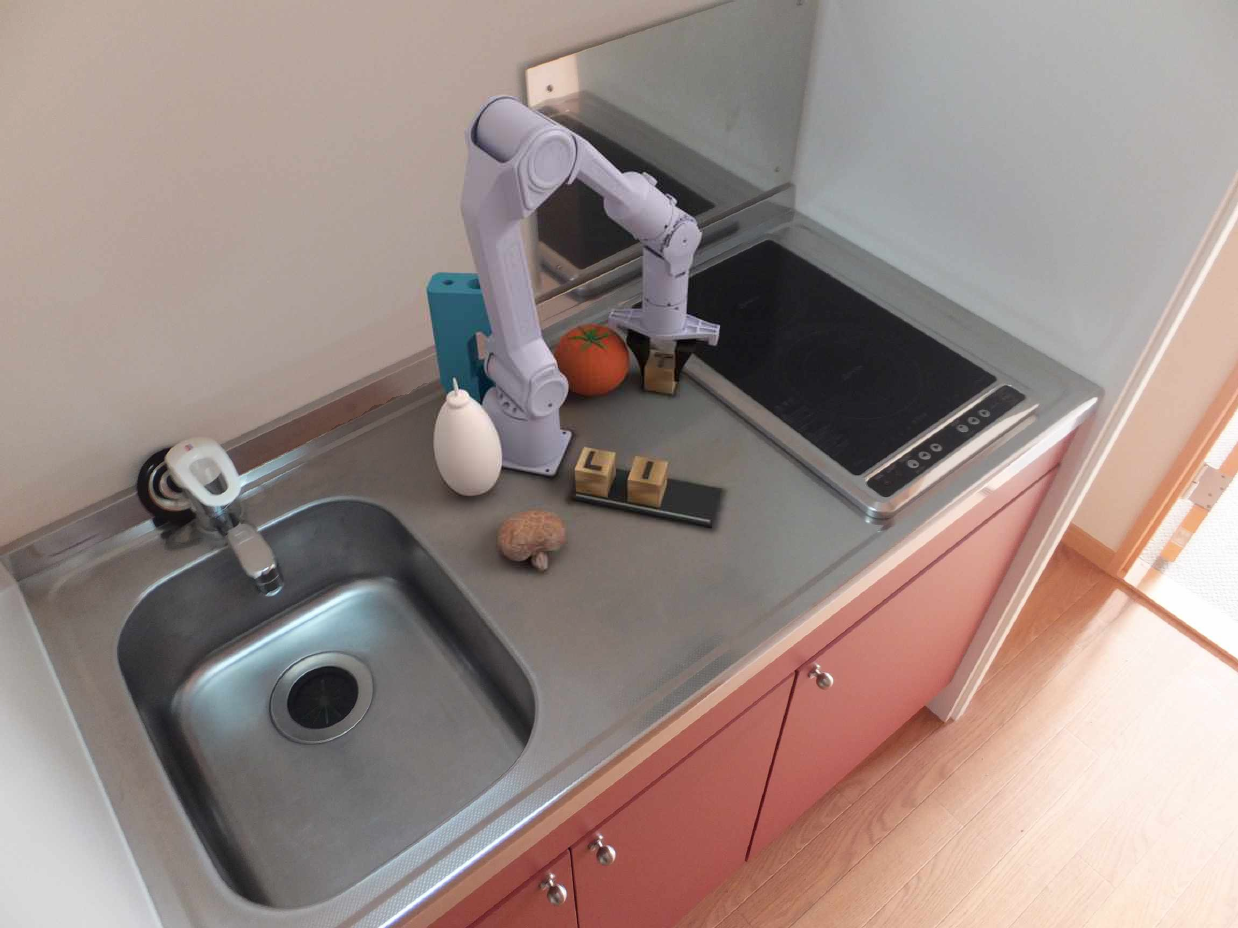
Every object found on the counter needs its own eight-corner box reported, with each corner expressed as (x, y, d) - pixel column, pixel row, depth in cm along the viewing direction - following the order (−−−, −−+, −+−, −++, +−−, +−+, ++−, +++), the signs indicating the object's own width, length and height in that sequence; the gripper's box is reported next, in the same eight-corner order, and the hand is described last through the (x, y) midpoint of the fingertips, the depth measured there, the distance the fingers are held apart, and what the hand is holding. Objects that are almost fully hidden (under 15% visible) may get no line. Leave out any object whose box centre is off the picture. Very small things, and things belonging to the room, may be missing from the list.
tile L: (575, 491, 107) (574, 468, 104) (585, 468, 110) (583, 445, 107) (607, 498, 106) (606, 474, 103) (615, 474, 109) (615, 451, 106)
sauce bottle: (498, 458, 112) (481, 349, 99) (513, 502, 107) (496, 392, 94) (438, 473, 110) (412, 363, 97) (450, 518, 105) (424, 408, 92)
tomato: (543, 398, 120) (537, 341, 113) (576, 355, 126) (573, 298, 119) (610, 419, 117) (609, 362, 110) (641, 373, 123) (641, 316, 116)
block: (540, 407, 119) (531, 275, 106) (535, 430, 115) (525, 295, 102) (453, 404, 120) (434, 272, 107) (445, 426, 116) (424, 292, 103)
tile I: (627, 501, 106) (627, 478, 103) (635, 478, 109) (635, 454, 106) (659, 507, 105) (660, 484, 102) (666, 484, 108) (667, 460, 105)
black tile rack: (572, 500, 107) (571, 497, 107) (585, 466, 111) (585, 462, 111) (711, 528, 104) (712, 524, 103) (721, 491, 108) (721, 488, 107)
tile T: (644, 389, 121) (644, 366, 118) (650, 371, 124) (651, 348, 121) (672, 394, 120) (673, 371, 117) (678, 375, 123) (679, 352, 120)
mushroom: (581, 565, 100) (567, 503, 104) (555, 551, 95) (542, 487, 99) (524, 587, 102) (513, 526, 106) (497, 575, 97) (486, 511, 101)
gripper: (726, 283, 112) (719, 364, 122) (617, 268, 115) (618, 348, 125) (716, 316, 108) (709, 397, 117) (603, 299, 110) (605, 380, 120)
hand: (662, 374), depth 121 cm, fingers closed on tile T, 4 cm apart
